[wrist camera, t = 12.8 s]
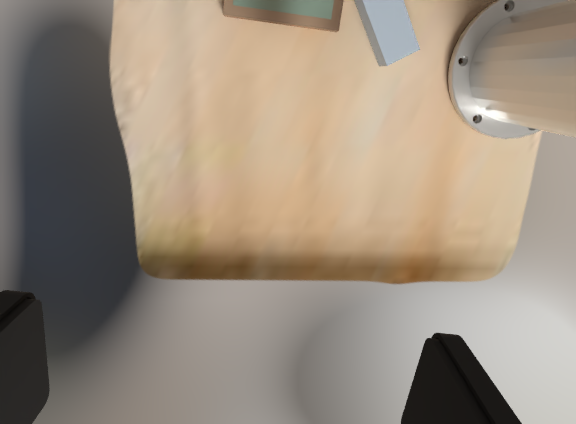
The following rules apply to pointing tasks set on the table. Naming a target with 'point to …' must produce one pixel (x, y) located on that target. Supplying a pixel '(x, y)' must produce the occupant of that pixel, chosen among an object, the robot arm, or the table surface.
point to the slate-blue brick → (388, 29)
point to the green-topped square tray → (288, 12)
